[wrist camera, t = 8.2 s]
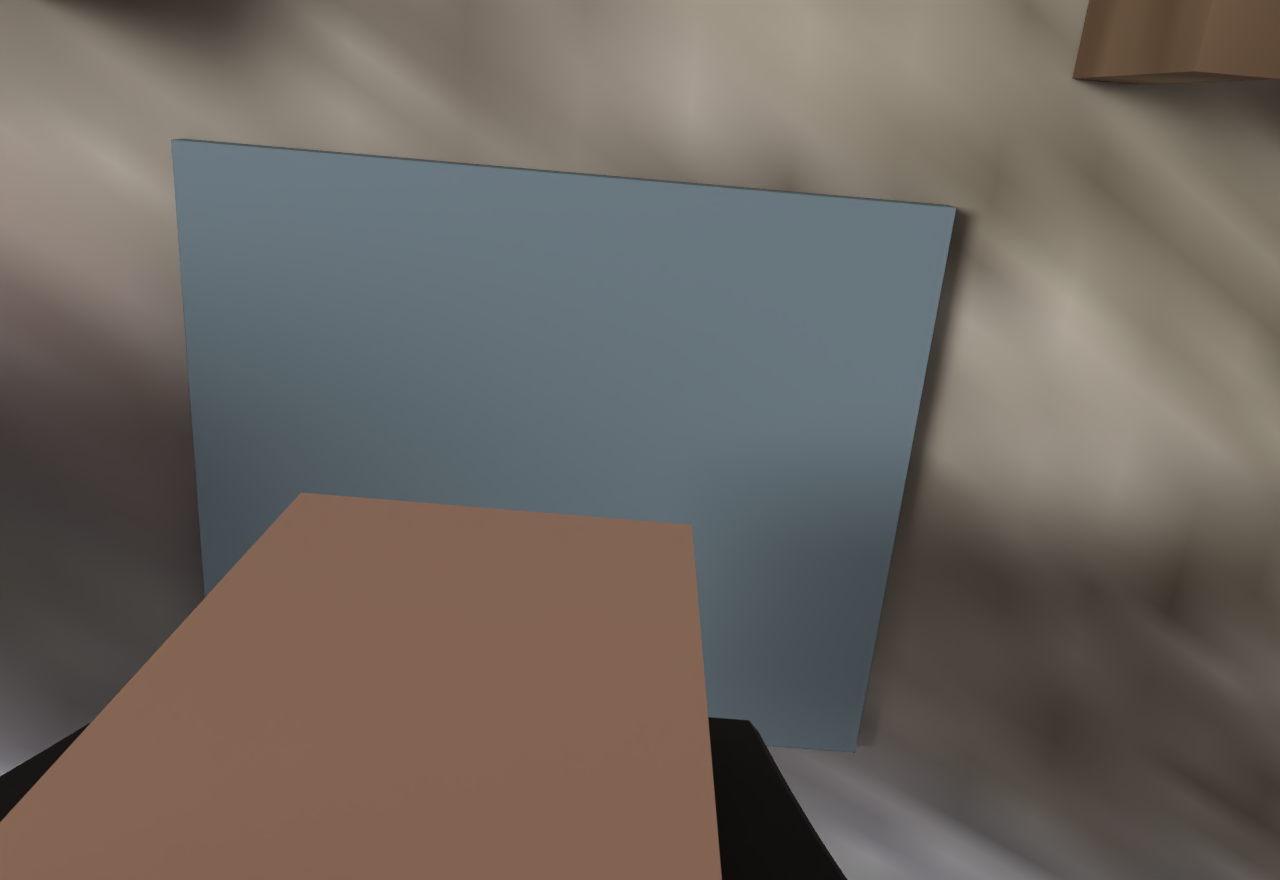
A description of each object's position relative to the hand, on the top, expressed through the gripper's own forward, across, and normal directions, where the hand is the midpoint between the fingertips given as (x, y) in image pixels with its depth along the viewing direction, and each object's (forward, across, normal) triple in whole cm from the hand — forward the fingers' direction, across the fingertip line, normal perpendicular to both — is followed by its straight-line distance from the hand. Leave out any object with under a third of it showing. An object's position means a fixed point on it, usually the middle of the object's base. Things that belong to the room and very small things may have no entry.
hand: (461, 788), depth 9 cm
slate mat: (+8, 0, 0) cm, 8 cm away
